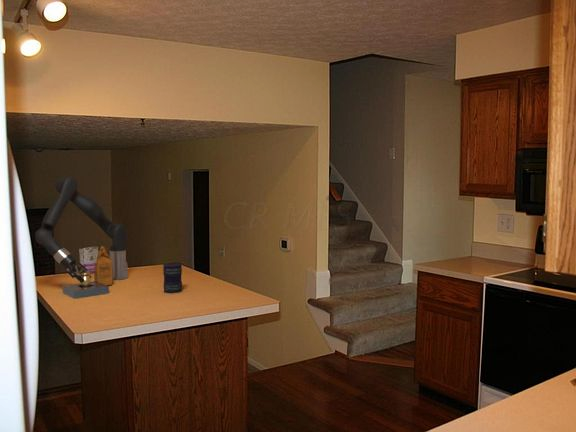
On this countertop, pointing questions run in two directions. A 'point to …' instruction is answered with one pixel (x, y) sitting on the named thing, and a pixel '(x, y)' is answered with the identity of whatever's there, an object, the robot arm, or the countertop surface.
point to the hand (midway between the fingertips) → (86, 280)
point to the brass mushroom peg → (85, 279)
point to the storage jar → (172, 277)
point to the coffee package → (103, 268)
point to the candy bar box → (89, 258)
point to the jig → (85, 290)
